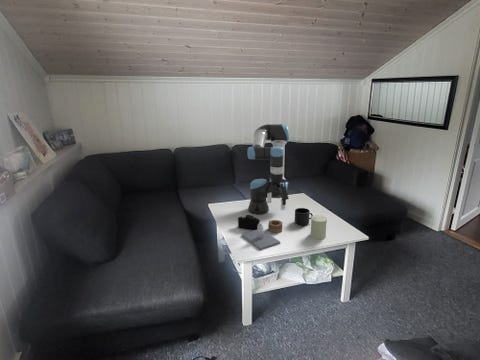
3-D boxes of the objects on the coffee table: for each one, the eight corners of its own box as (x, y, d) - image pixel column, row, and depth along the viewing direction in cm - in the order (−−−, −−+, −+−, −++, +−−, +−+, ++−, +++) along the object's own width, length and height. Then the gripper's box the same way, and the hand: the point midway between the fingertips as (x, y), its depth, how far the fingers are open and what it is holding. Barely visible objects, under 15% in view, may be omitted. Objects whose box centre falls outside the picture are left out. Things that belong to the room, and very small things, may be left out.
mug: (314, 225, 192) (315, 212, 189) (297, 226, 191) (297, 213, 188) (309, 219, 201) (310, 207, 198) (292, 220, 200) (293, 208, 197)
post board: (241, 235, 180) (241, 219, 177) (260, 230, 187) (260, 214, 184) (260, 250, 164) (260, 232, 161) (280, 243, 170) (280, 226, 167)
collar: (266, 229, 188) (266, 222, 187) (276, 226, 192) (276, 219, 191) (274, 234, 181) (274, 227, 180) (284, 230, 185) (284, 223, 184)
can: (308, 232, 183) (309, 214, 179) (322, 231, 183) (323, 214, 180) (312, 239, 174) (314, 221, 170) (328, 239, 174) (329, 220, 171)
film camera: (262, 225, 194) (262, 212, 191) (258, 231, 185) (258, 218, 183) (241, 222, 199) (240, 210, 196) (236, 228, 190) (236, 215, 188)
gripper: (259, 169, 184) (259, 201, 190) (285, 178, 164) (284, 214, 170) (269, 167, 188) (268, 198, 194) (295, 176, 167) (294, 211, 173)
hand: (275, 206), depth 182 cm, fingers open, 13 cm apart
